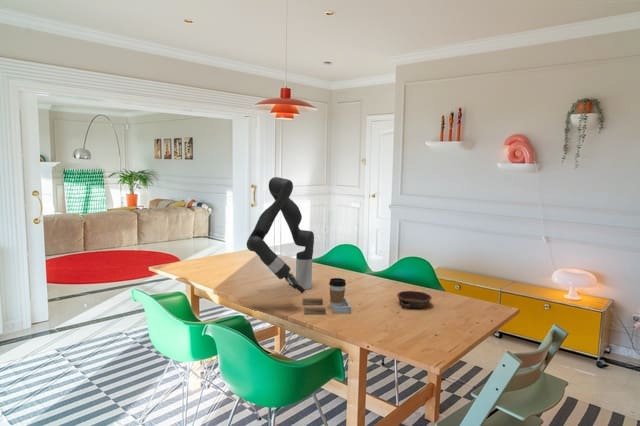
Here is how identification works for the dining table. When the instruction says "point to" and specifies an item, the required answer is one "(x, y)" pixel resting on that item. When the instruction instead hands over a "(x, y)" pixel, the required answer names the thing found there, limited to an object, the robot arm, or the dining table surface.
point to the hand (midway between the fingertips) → (303, 291)
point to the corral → (343, 309)
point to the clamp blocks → (313, 309)
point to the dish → (414, 299)
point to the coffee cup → (337, 292)
